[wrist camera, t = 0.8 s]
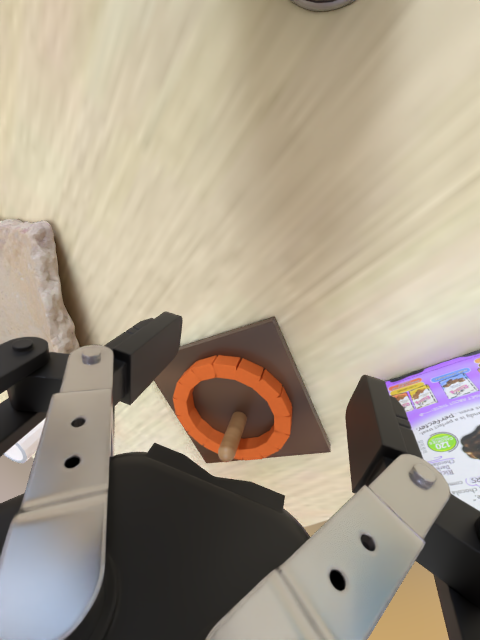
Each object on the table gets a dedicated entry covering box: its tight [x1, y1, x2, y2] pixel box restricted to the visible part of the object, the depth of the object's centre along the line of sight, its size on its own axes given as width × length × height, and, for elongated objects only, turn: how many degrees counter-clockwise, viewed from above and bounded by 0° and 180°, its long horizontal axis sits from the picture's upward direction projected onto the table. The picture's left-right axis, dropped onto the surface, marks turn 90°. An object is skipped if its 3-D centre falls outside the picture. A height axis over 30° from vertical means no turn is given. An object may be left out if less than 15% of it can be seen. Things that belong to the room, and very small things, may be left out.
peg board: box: [154, 317, 331, 463], centre depth 33 cm, size 19×19×8 cm
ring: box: [173, 355, 292, 460], centre depth 35 cm, size 15×15×2 cm
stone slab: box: [0, 219, 79, 354], centre depth 36 cm, size 24×8×20 cm
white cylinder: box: [4, 418, 46, 463], centre depth 48 cm, size 7×7×7 cm
